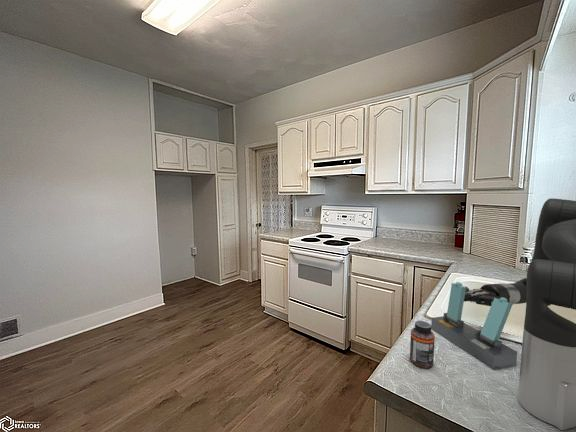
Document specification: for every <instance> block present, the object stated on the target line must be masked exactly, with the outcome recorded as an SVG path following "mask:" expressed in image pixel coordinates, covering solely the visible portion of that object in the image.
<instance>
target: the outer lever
mask: <svg viewBox="0 0 576 432" xmlns="http://www.w3.org/2000/svg"><path fill="white" fill-rule="evenodd" d="M466 287H467V286H463V283H462V282H460V281H457V282H451V285H450V293H449V297H448V303H447V311H446V313H447V316H446V319H448V320H449V321H451V322H453V323H455V324H456V325H457V324H458V321H460V320H462V314H463V308H464V303H465V302H464V297H465V291H466Z"/></svg>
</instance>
